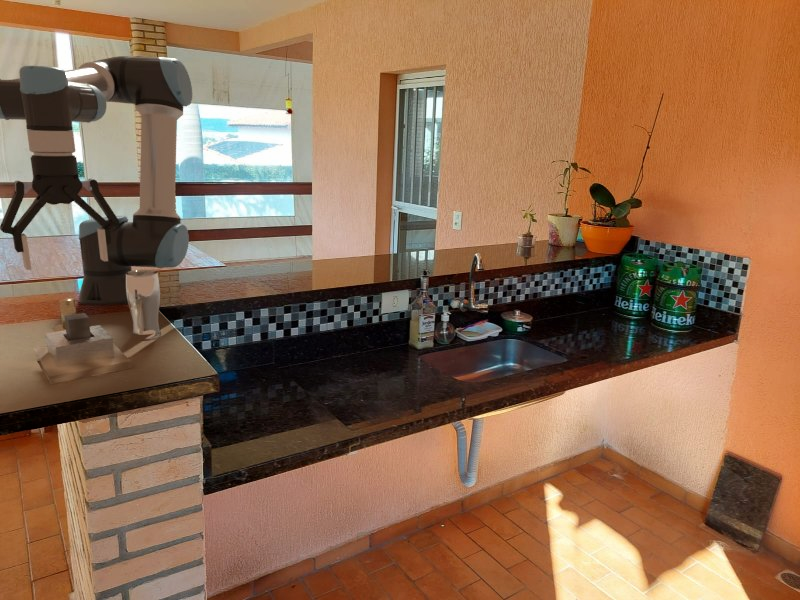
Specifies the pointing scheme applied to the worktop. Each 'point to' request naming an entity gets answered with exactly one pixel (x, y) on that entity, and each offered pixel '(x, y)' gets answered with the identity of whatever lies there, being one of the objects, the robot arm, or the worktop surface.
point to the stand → (65, 312)
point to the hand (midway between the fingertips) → (67, 264)
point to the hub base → (79, 330)
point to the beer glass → (144, 302)
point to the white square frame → (79, 347)
